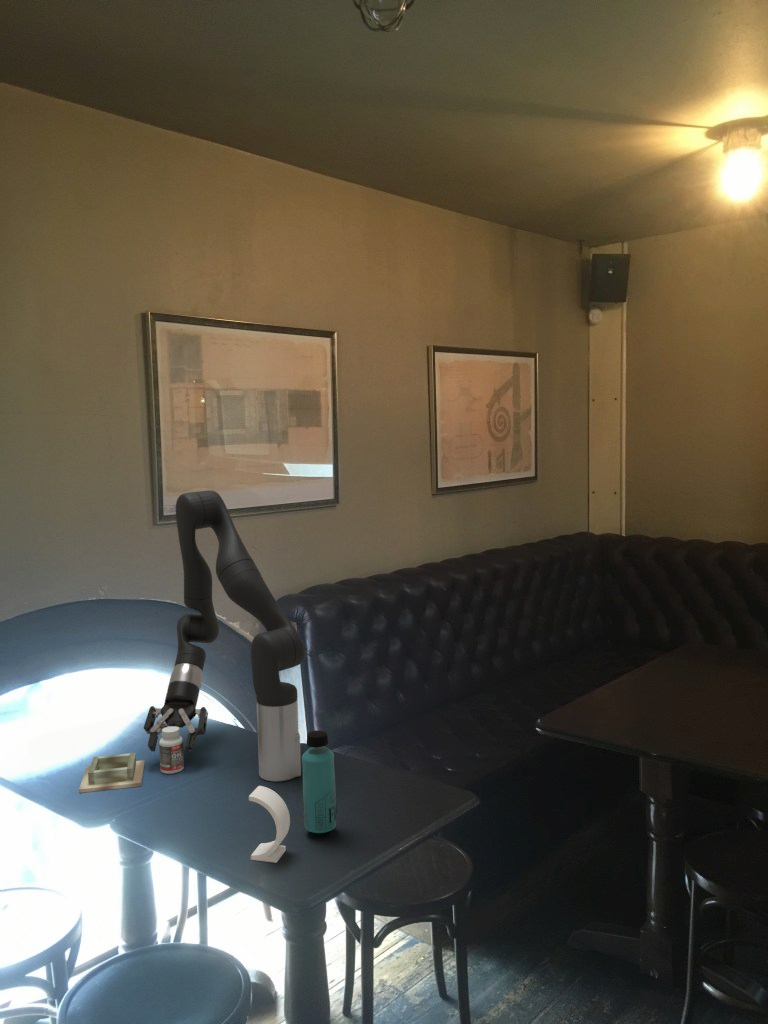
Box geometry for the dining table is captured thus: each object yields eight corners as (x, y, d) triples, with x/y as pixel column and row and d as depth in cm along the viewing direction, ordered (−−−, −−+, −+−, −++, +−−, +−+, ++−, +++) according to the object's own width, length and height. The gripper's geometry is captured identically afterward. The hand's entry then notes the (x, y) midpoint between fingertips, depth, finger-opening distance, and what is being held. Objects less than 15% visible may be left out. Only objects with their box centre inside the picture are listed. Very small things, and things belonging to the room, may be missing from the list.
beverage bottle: (332, 842, 153) (329, 740, 151) (298, 839, 154) (295, 738, 152) (341, 826, 159) (338, 727, 157) (308, 823, 160) (306, 725, 159)
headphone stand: (260, 847, 152) (258, 785, 150) (291, 850, 150) (289, 788, 149) (250, 859, 147) (248, 796, 146) (281, 863, 146) (279, 799, 145)
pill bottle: (176, 775, 185) (174, 734, 184) (155, 773, 186) (153, 732, 185) (188, 766, 190) (186, 726, 189) (168, 764, 192) (166, 723, 191)
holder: (144, 763, 192) (144, 749, 192) (141, 786, 179) (140, 770, 179) (87, 769, 189) (86, 754, 189) (79, 792, 177) (78, 777, 176)
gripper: (151, 679, 195) (134, 743, 184) (209, 679, 193) (195, 744, 183) (160, 693, 201) (144, 756, 190) (216, 694, 199) (203, 757, 189)
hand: (169, 750), depth 187 cm, fingers open, 8 cm apart
